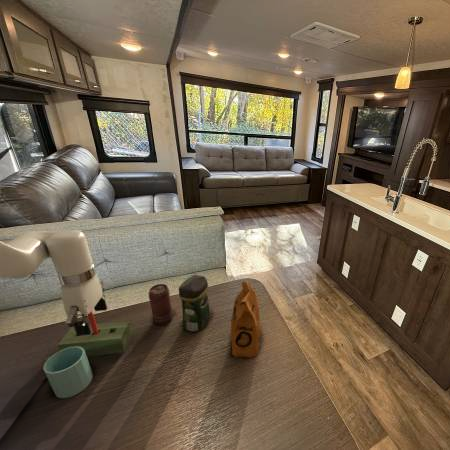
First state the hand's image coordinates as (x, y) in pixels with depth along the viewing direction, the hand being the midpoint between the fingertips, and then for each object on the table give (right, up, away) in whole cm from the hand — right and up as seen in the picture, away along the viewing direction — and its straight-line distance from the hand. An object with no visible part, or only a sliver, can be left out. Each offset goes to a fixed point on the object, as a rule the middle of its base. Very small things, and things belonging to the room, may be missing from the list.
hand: (93, 321), depth 74 cm
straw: (-1, -9, +4) cm, 10 cm away
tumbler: (+1, -14, -7) cm, 16 cm away
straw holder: (-1, -9, +4) cm, 10 cm away
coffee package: (+44, -12, +10) cm, 46 cm away
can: (+12, -6, +16) cm, 21 cm away
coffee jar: (+25, -7, +16) cm, 30 cm away
